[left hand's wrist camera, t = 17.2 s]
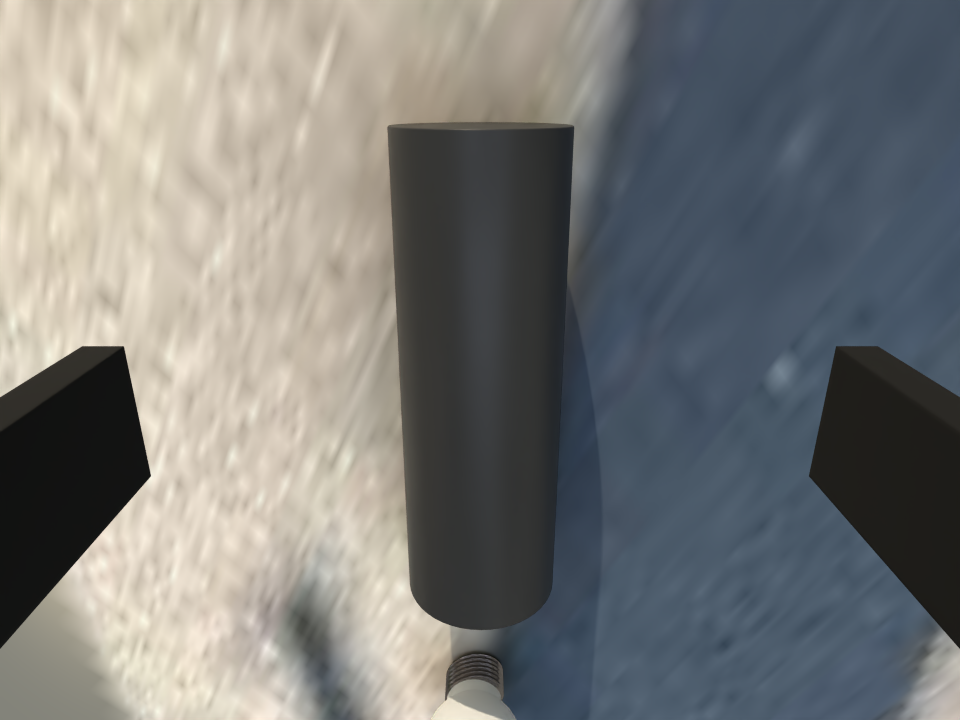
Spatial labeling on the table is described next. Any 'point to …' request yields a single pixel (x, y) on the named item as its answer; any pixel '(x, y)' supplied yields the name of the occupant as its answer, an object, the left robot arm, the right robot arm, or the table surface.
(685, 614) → the table surface
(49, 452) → the left robot arm
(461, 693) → the light bulb
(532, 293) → the rod
